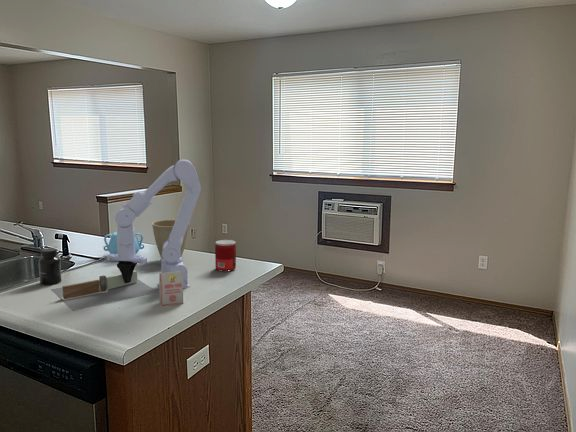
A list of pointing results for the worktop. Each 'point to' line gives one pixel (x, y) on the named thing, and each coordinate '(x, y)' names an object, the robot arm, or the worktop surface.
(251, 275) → the worktop surface
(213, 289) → the worktop surface
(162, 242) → the plant pot
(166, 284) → the pink white carton
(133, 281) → the sage fence panel
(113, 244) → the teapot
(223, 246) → the canned food
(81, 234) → the worktop surface
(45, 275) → the supplement bottle
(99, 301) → the card
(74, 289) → the walnut fence section
